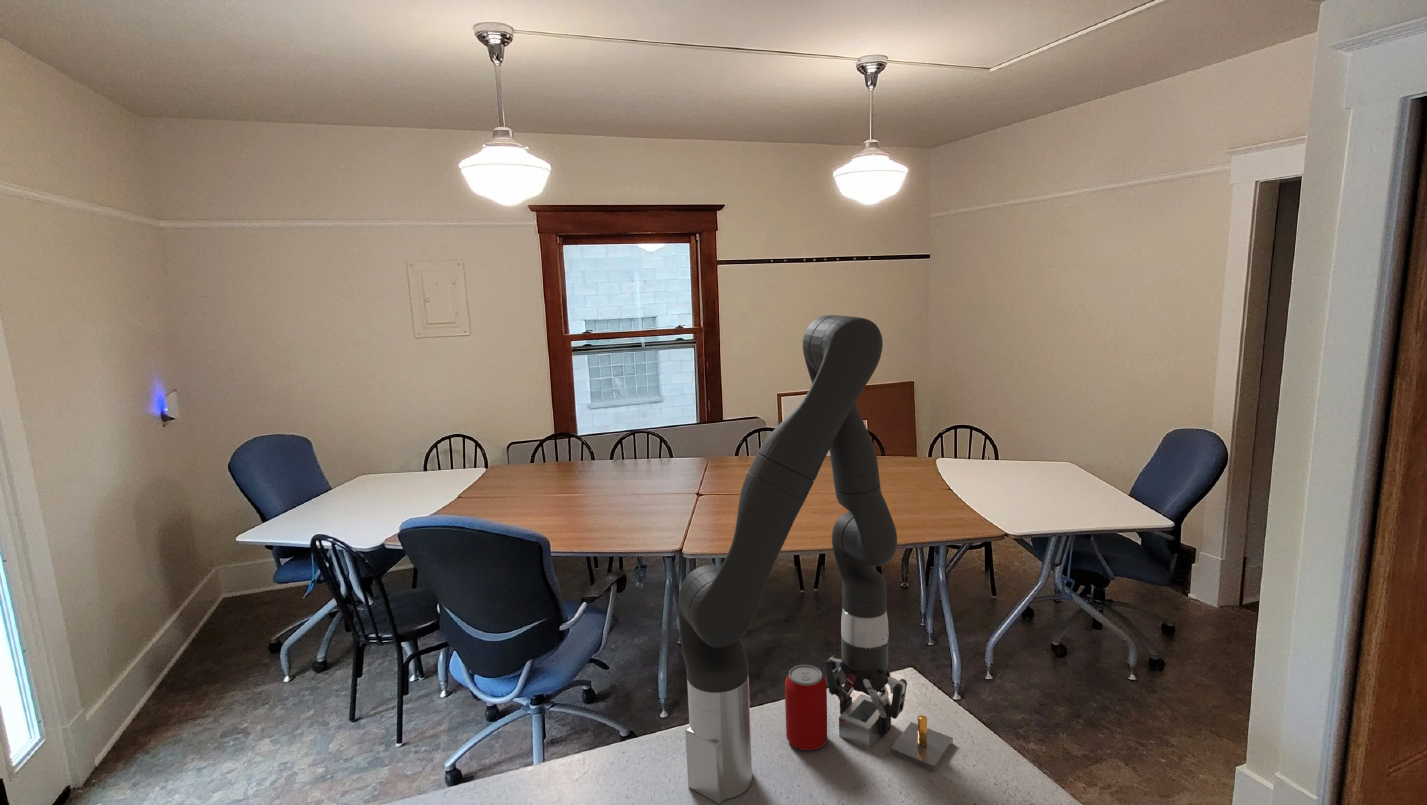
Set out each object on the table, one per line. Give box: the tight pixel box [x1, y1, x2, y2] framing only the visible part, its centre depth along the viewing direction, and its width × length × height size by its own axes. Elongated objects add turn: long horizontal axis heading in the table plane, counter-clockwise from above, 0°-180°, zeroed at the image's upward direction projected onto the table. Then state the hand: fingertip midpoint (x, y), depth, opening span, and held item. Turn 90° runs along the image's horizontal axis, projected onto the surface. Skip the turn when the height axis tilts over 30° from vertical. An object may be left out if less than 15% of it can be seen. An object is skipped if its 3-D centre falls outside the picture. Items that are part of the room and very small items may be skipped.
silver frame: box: [838, 693, 880, 750], centre depth 112 cm, size 8×5×4 cm
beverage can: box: [784, 664, 828, 751], centre depth 109 cm, size 7×7×12 cm
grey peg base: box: [890, 714, 954, 773], centre depth 107 cm, size 8×7×5 cm
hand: (865, 726), depth 112 cm, fingers open, 6 cm apart
